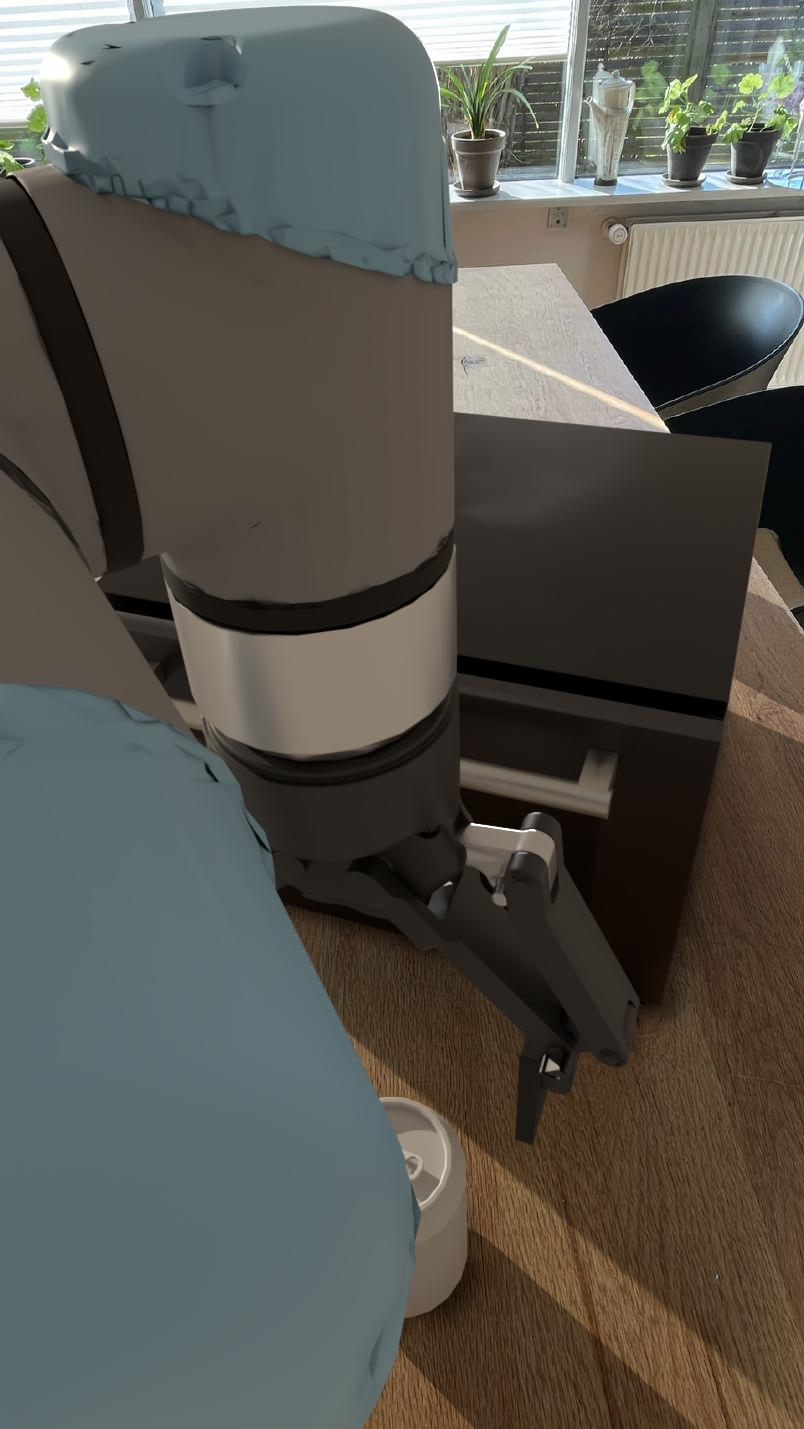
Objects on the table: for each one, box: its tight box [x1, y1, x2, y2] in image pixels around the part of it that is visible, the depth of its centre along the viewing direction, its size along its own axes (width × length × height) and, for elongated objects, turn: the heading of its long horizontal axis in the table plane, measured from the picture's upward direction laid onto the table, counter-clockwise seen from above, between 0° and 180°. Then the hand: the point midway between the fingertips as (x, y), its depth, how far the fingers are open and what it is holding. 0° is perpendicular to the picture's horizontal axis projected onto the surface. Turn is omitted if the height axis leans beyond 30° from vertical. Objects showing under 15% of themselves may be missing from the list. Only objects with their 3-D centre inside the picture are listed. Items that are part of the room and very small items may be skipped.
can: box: [379, 1096, 468, 1319], centre depth 51 cm, size 8×8×12 cm
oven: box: [95, 411, 772, 723], centre depth 75 cm, size 32×40×26 cm
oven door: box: [114, 610, 726, 1006], centre depth 62 cm, size 5×40×26 cm, turn 70°
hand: (378, 1063), depth 41 cm, fingers open, 13 cm apart
